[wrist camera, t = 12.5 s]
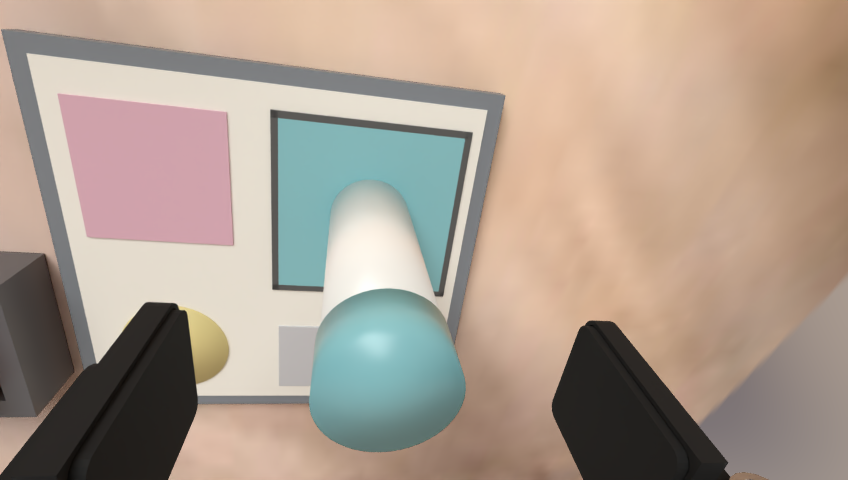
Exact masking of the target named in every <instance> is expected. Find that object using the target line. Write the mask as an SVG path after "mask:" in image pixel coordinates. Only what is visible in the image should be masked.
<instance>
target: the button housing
mask: <svg viewBox="0 0 848 480" xmlns="http://www.w3.org/2000/svg"><path fill="white" fill-rule="evenodd" d="M73 372H74V369H73V365H72V361H71V357H70V353H69V349H68V345H67V342H66V338H65V334H64V330H63V326H62V322H61V318H60V314H59V310H58V306H57V303H56V299H55V295H54V291H53V287H52V283H51V279H50V275H49V271H48V267H47V263H46V260H45V256H44V254H40V253H21V252H1V251H0V385H1V387H0V417H37V416H38V415H39V413H40V412H41V411H42V410H43V409H44V407H45V406H46V405H47V404H48V403H49V401H50V400H51V399H52V398H53V397H54V395H55V394H56V393H57V392H58V391H59V389H60V388H61V387H62V386H63V385H64V383H65V382H66V381H67V380H68V379H69V377H70V376H71V375H72V374H73Z"/></svg>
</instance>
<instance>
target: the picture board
mask: <svg viewBox="0 0 848 480" xmlns="http://www.w3.org/2000/svg"><path fill="white" fill-rule="evenodd" d="M1 31H2V35H3V40H4V44H5V48H6V52H7V56H8V60H9V64H10V68H11V72H12V77H13V81H14V85H15V89H16V93H17V97H18V101H19V105H20V109H21V113H22V118H23V122H24V126H25V130H26V134H27V138H28V142H29V146H30V150H31V155H32V159H33V163H34V167H35V171H36V175H37V179H38V183H39V187H40V191H41V196H42V200H43V204H44V208H45V212H46V216H47V220H48V224H49V228H50V233H51V237H52V241H53V245H54V249H55V253H56V257H57V261H58V265H59V269H60V274H61V278H62V282H63V286H64V290H65V294H66V298H67V302H68V306H69V311H70V315H71V319H72V323H73V327H74V331H75V335H76V339H77V343H78V347H79V352H80V356H81V360H82V364H83V368H84V370H85V369H86V368H87V367H88V366H90V365H92V364H94V363H99V361H100V360H101V359H102V357H103V356H104V355H105V354H106V352H107V351H108V350H109V348H110V347H111V346H112V344H113V343H114V342H115V341H116V339H117V338H118V337H119V335H120V334H121V333H122V331H123V330H124V329H125V328H126V326H127V325H128V324H129V322H130V321H131V320H132V318H133V317H134V316H135V315H136V313H137V312H138V311H139V309H140V308H141V307H142V305H143V304H145V303H146V302H163V303H176V304H177V305H178V307H179V310H185V311H186V312H187V315H188V322H189V330H190V338H191V347H192V355H193V363H194V371H195V379H196V387H197V395H198V404H285V403H309V397H310V387H311V377H312V367H313V357H314V348H315V339H316V334H317V331H318V329H319V326H320V323H321V312H322V301H323V290H324V279H325V268H326V257H327V246H328V235H329V224H330V213H331V207H332V204H333V202H334V200H335V198H336V196H337V195H338V194H339V193H340V192H341V191H342V190H343V189H344V188H345V187H347V186H348V185H350V184H352V183H354V182H357V181H361V180H378V181H382V182H385V183H387V184H389V185H391V186H393V187H394V188H395V189H397V190H398V191H399V192H400V194H401V195H402V196H403V198H404V200H405V202H406V205H407V208H408V211H409V214H410V217H411V221H412V224H413V227H414V230H415V233H416V237H417V240H418V243H419V246H420V250H421V253H422V256H423V259H424V262H425V266H426V269H427V272H428V275H429V279H430V282H431V285H432V288H433V292H434V295H435V298H436V301H437V304H438V308H439V310H440V311H441V313H442V314H443V316H444V318H445V320H446V322H447V325H448V328H449V331H450V334H451V337H452V340H453V343H455V338H456V334H457V329H458V324H459V319H460V314H461V309H462V304H463V299H464V295H465V290H466V285H467V280H468V275H469V270H470V265H471V261H472V256H473V251H474V246H475V241H476V236H477V231H478V226H479V222H480V217H481V212H482V207H483V202H484V197H485V192H486V187H487V183H488V178H489V173H490V168H491V163H492V158H493V153H494V149H495V144H496V139H497V134H498V129H499V124H500V119H501V114H502V110H503V105H504V100H505V95H503V94H500V93H493V92H486V91H478V90H471V89H463V88H456V87H448V86H441V85H433V84H425V83H418V82H410V81H403V80H395V79H388V78H380V77H372V76H365V75H357V74H350V73H342V72H335V71H327V70H320V69H312V68H304V67H297V66H289V65H282V64H274V63H267V62H259V61H251V60H244V59H236V58H229V57H221V56H214V55H206V54H199V53H191V52H183V51H176V50H168V49H161V48H153V47H146V46H138V45H130V44H123V43H115V42H108V41H100V40H93V39H85V38H78V37H70V36H62V35H55V34H47V33H40V32H32V31H25V30H17V29H1Z"/></svg>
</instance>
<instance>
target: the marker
mask: <svg viewBox="0 0 848 480" xmlns="http://www.w3.org/2000/svg"><path fill="white" fill-rule="evenodd" d="M465 391H466V387H465V379H464V374H463V371H462V368H461V365H460V362H459V359H458V356H457V353H456V350H455V347H454V343H453V340H452V337H451V334H450V331H449V328H448V325H447V322H446V320H445V318H444V316H443V314H442V313H441V311H440V310H439V308H438V304H437V301H436V298H435V295H434V292H433V288H432V285H431V282H430V279H429V275H428V272H427V269H426V266H425V262H424V259H423V256H422V253H421V250H420V246H419V243H418V240H417V237H416V233H415V230H414V227H413V224H412V221H411V217H410V214H409V211H408V208H407V205H406V202H405V200H404V198H403V196H402V195H401V194H400V192H399V191H398V190H397V189H395V188H394V187H393V186H391V185H389V184H387V183H385V182H382V181H378V180H361V181H357V182H354V183H352V184H350V185H348V186H347V187H345V188H344V189H343V190H342V191H341V192H340V193H339V194H338V195H337V196H336V198H335V200H334V202H333V204H332V207H331V213H330V224H329V235H328V246H327V257H326V268H325V279H324V290H323V301H322V312H321V323H320V326H319V329H318V331H317V334H316V339H315V348H314V357H313V367H312V377H311V387H310V397H309V407H310V412H311V416H312V418H313V420H314V422H315V424H316V425H317V427H318V428H319V429H320V430H321V431H322V432H323V434H324V435H326V436H327V437H328V438H330V439H331V440H333V441H334V442H336V443H338V444H340V445H343V446H345V447H348V448H351V449H355V450H360V451H366V452H389V451H396V450H401V449H405V448H409V447H412V446H415V445H417V444H420V443H422V442H424V441H426V440H428V439H430V438H432V437H433V436H435V435H437V434H438V433H439V432H441V431H442V430H443V429H444V428H445V427H446V426H448V425H449V424H450V422H451V421H452V420H453V419H454V418H455V416H456V415H457V413H458V412H459V410H460V408H461V406H462V404H463V401H464V397H465Z"/></svg>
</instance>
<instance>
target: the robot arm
mask: <svg viewBox="0 0 848 480" xmlns="http://www.w3.org/2000/svg"><path fill="white" fill-rule="evenodd" d="M197 406H198V395H197V387H196V379H195V371H194V363H193V355H192V347H191V338H190V330H189V322H188V315H187V312H186V311H185V310H179V307H178V305H177V304H176V303H163V302H146V303H145V304H143V305H142V307H141V308H140V309H139V311H138V312H137V313H136V315H135V316H134V317H133V318H132V320H131V321H130V322H129V324H128V325H127V326H126V328H125V329H124V330H123V331H122V333H121V334H120V335H119V337H118V338H117V339H116V341H115V342H114V343H113V344H112V346H111V347H110V348H109V350H108V351H107V352H106V354H105V355H104V356H103V357H102V359H101V360H100V361H99V363H94V364H92V365H90V366H88V367H87V368H86V369H85V370H84V371H83V372H82V373H81V374H80V375H79V377H78V378H77V379H76V380H75V382H74V383H73V384H72V385H71V387H70V388H69V389H68V390H67V392H66V393H65V394H64V395H63V397H62V398H61V399H60V400H59V402H58V403H57V404H56V406H55V407H54V408H53V409H52V411H51V412H50V413H49V414H48V416H47V417H46V418H45V419H44V421H43V422H42V423H41V424H40V426H39V427H38V428H37V429H36V431H35V432H34V433H33V434H32V436H31V437H30V438H29V439H28V441H27V442H26V443H25V445H24V446H23V447H22V448H21V450H20V451H19V452H18V453H17V455H16V456H15V457H14V458H13V460H12V461H11V462H10V463H9V465H8V466H7V467H6V468H5V470H4V471H3V472H2V473H1V475H0V480H168V478H169V476H170V474H171V471H172V469H173V467H174V464H175V462H176V460H177V457H178V455H179V453H180V450H181V448H182V445H183V443H184V441H185V438H186V436H187V434H188V431H189V429H190V427H191V424H192V422H193V420H194V417H195V414H196V411H197ZM552 412H553V416H554V418H555V420H556V423H557V425H558V427H559V429H560V431H561V433H562V435H563V437H564V440H565V442H566V444H567V446H568V448H569V450H570V452H571V454H572V457H573V459H574V461H575V463H576V465H577V467H578V469H579V471H580V474H581V476H582V478H583V480H768V479H766V478H764V477H761V476H759V475H756V474H751V473H745V472H742V473H735V474H734V475H733V476H731V477H730V476H729V475H728V474H727V472H726V471H725V470H724V468H725V467H726V465H727V464H728V462H727V461H726V460H725V458H724V457H723V456H722V455H721V453H720V452H719V451H718V450H717V448H716V447H715V446H714V445H713V443H712V442H711V441H710V440H709V438H708V437H707V436H706V435H705V434H704V432H703V431H702V430H701V429H700V427H699V426H698V425H697V424H696V422H695V421H694V420H693V419H692V417H691V416H690V415H689V414H688V413H687V411H686V410H685V409H684V408H683V406H682V405H681V404H680V403H679V401H678V400H677V399H676V398H675V397H674V395H673V394H672V393H671V392H670V390H669V389H668V388H667V387H666V385H665V384H664V383H663V382H662V381H661V379H660V378H659V377H658V376H657V374H656V373H655V372H654V371H653V369H652V368H651V367H650V366H649V365H648V363H647V362H646V361H645V360H644V358H643V357H642V356H641V355H640V353H639V352H638V351H637V350H636V349H635V347H634V346H633V345H632V344H631V342H630V341H629V340H628V339H627V337H626V336H625V335H624V334H623V333H622V331H621V330H620V329H619V328H618V326H617V325H616V324H615V323H614V322H611V321H588V322H587V323H586V325H585V326H582V327H581V328H580V329H579V331H578V334H577V337H576V339H575V342H574V345H573V347H572V350H571V353H570V356H569V358H568V361H567V364H566V366H565V369H564V372H563V374H562V377H561V380H560V382H559V385H558V388H557V390H556V393H555V396H554V398H553V402H552Z"/></svg>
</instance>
